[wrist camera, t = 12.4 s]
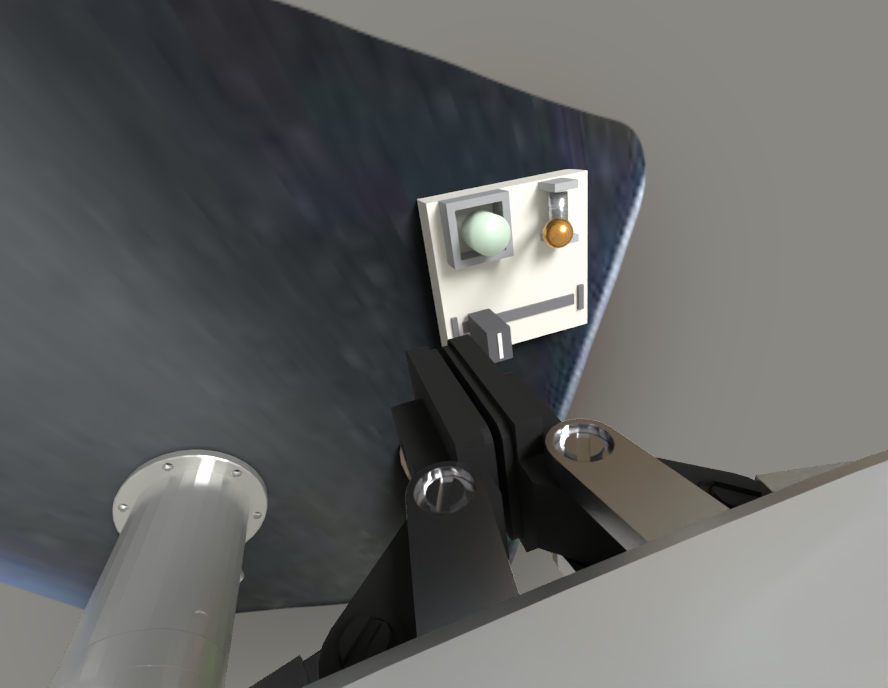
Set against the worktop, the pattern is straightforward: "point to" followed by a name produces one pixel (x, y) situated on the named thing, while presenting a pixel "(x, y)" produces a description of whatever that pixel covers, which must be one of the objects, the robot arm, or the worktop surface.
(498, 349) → the slider knob
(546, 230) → the toggle lever
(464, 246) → the panel
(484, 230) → the push button
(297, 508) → the worktop surface
